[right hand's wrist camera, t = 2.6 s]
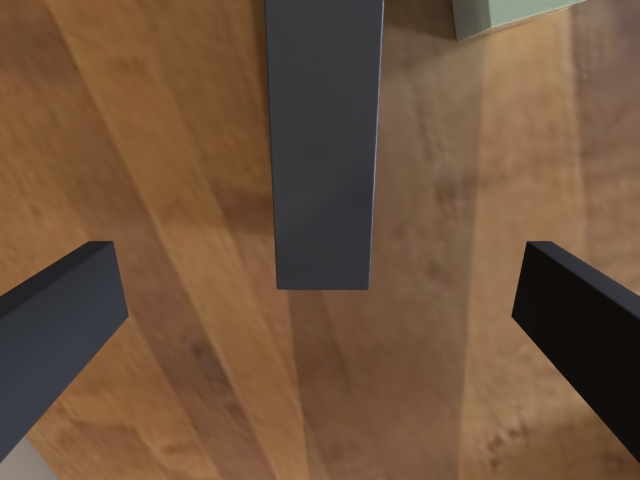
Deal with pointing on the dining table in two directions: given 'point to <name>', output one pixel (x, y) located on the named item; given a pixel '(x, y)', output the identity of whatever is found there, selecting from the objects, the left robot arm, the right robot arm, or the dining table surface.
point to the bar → (323, 138)
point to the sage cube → (500, 14)
